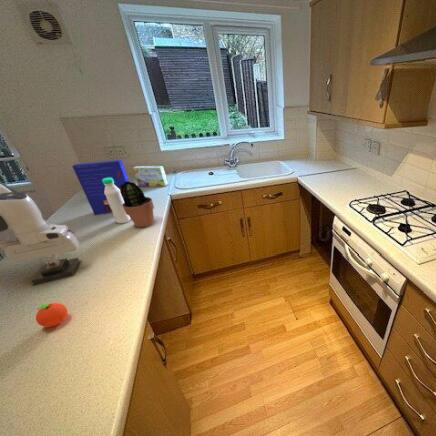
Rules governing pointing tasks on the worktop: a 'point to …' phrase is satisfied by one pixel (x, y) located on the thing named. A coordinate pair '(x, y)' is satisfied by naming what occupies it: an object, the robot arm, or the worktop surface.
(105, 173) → the cereal box
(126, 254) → the worktop surface
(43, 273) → the dark slab
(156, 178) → the snack box
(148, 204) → the potted plant
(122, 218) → the water bottle
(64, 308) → the tomato
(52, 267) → the front key
